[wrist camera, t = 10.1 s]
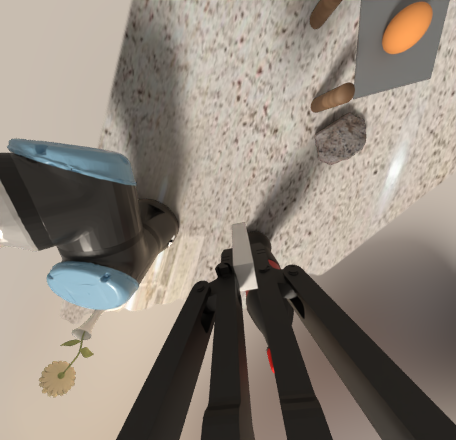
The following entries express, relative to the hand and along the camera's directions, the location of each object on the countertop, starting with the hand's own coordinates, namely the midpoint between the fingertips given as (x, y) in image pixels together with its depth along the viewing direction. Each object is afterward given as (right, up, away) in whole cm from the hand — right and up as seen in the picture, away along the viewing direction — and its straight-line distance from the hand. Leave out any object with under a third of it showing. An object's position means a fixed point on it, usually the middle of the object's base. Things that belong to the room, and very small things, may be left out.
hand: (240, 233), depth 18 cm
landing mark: (+29, +33, +11) cm, 46 cm away
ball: (+27, +33, +8) cm, 43 cm away
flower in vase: (-42, -25, +40) cm, 63 cm away
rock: (+22, +19, +18) cm, 35 cm away
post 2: (+17, +25, +15) cm, 34 cm away
